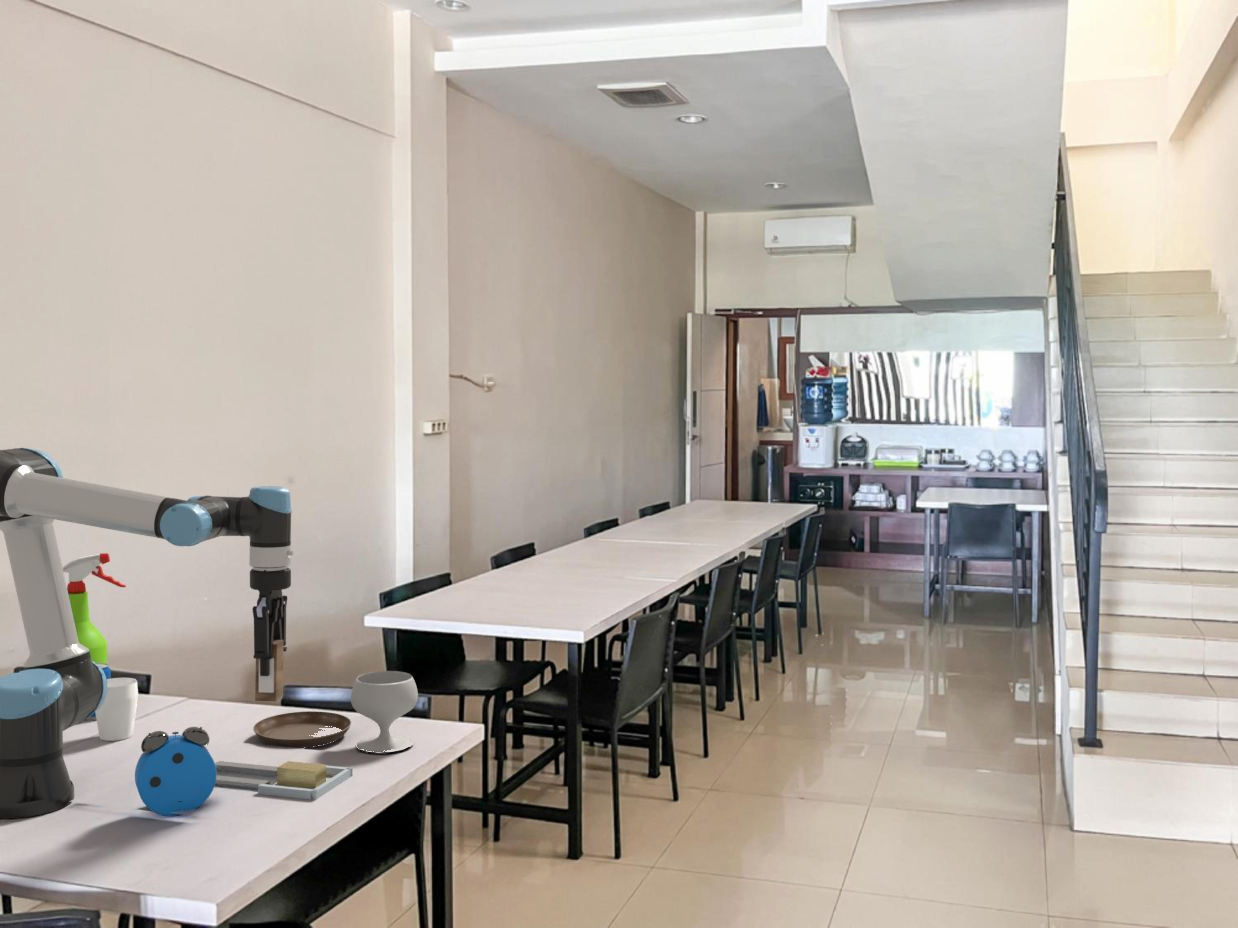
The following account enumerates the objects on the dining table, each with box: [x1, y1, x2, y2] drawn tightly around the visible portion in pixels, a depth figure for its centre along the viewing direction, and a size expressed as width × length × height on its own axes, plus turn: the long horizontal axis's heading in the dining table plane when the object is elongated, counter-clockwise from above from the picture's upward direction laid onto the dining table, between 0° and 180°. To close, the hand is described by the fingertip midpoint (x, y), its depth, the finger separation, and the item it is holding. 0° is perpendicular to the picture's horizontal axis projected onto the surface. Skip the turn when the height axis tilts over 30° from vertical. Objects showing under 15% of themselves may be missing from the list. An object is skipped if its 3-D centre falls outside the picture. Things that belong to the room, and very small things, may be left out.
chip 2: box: [296, 762, 327, 789], centre depth 215 cm, size 4×4×4 cm
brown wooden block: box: [254, 640, 285, 703], centre depth 218 cm, size 4×4×11 cm
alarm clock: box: [134, 726, 217, 817], centre depth 203 cm, size 13×6×15 cm, turn 118°
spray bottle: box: [62, 552, 127, 665], centre depth 284 cm, size 14×18×35 cm
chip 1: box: [276, 760, 307, 788], centre depth 216 cm, size 4×4×4 cm
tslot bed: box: [214, 760, 278, 791], centre depth 219 cm, size 10×16×2 cm, turn 75°
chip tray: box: [257, 765, 353, 801], centre depth 216 cm, size 14×12×2 cm
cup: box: [95, 677, 139, 742], centre depth 248 cm, size 9×9×12 cm
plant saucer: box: [252, 710, 352, 749], centre depth 249 cm, size 21×21×3 cm
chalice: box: [350, 670, 419, 752], centre depth 243 cm, size 14×14×15 cm
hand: (270, 688), depth 218 cm, fingers closed on brown wooden block, 4 cm apart
